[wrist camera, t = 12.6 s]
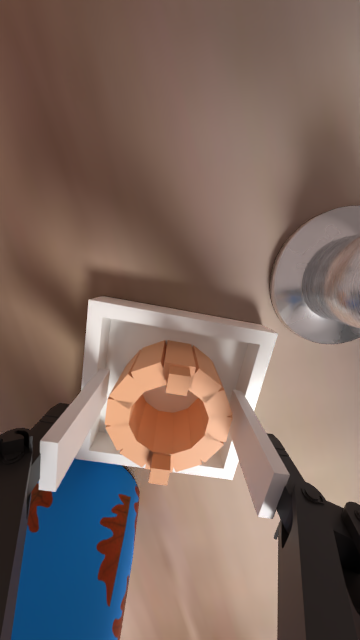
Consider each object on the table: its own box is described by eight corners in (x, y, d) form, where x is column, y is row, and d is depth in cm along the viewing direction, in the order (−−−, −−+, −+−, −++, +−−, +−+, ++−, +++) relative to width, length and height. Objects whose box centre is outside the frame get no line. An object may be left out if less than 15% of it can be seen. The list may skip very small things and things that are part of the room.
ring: (206, 432, 17) (218, 494, 12) (117, 419, 17) (93, 477, 12) (227, 350, 16) (251, 384, 11) (129, 333, 15) (106, 360, 10)
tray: (262, 324, 16) (278, 333, 13) (225, 453, 19) (232, 479, 16) (102, 295, 15) (88, 299, 13) (89, 433, 18) (75, 458, 15)
